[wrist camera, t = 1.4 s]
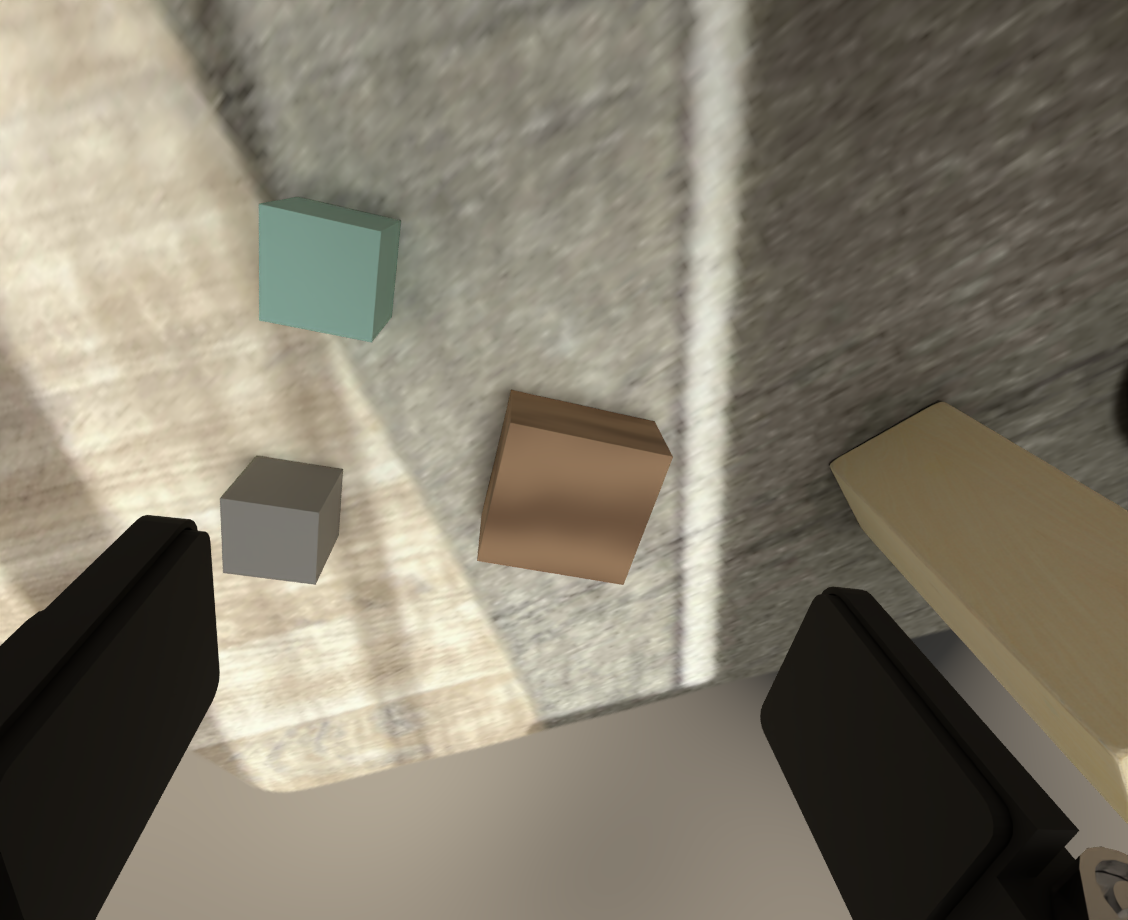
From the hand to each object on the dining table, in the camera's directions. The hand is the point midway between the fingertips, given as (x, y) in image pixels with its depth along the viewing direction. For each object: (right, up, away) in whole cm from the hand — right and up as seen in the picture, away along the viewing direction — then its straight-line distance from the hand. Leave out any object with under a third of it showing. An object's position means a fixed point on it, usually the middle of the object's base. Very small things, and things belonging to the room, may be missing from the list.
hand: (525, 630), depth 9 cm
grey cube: (-16, 0, +27) cm, 32 cm away
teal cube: (-11, +13, +21) cm, 27 cm away
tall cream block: (+23, +2, +30) cm, 38 cm away
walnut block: (+1, +2, +28) cm, 28 cm away
